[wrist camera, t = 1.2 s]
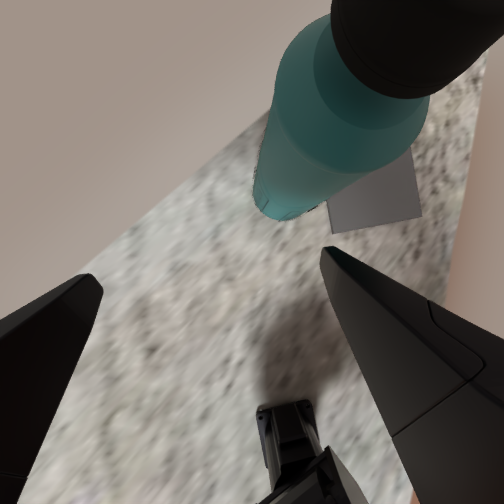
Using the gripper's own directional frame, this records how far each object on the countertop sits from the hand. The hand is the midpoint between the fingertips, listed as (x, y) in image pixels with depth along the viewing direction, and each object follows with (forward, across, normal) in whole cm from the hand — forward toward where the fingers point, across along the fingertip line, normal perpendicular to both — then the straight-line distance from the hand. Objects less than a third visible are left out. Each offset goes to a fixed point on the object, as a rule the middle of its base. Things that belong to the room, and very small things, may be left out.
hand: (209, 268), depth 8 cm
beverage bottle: (+16, -5, +4) cm, 18 cm away
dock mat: (+17, -16, +4) cm, 24 cm away
